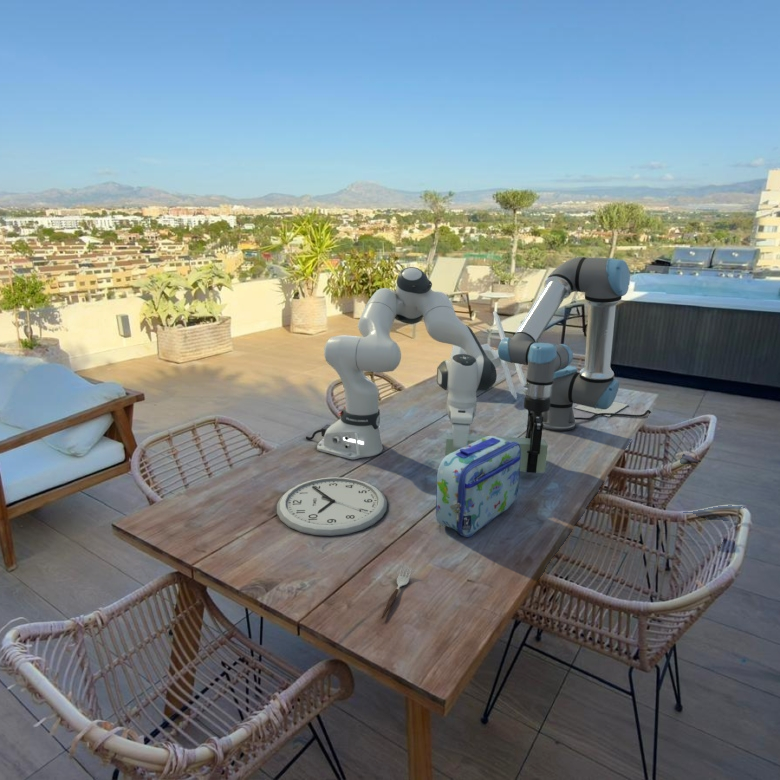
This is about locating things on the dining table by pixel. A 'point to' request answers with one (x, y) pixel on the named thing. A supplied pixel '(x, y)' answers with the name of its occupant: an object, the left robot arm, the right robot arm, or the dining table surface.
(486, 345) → the white plastic object
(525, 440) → the sage box
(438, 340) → the left robot arm
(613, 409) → the invitation card
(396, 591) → the fork
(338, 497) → the wall clock
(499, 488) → the lunch box
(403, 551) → the dining table surface
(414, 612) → the dining table surface
